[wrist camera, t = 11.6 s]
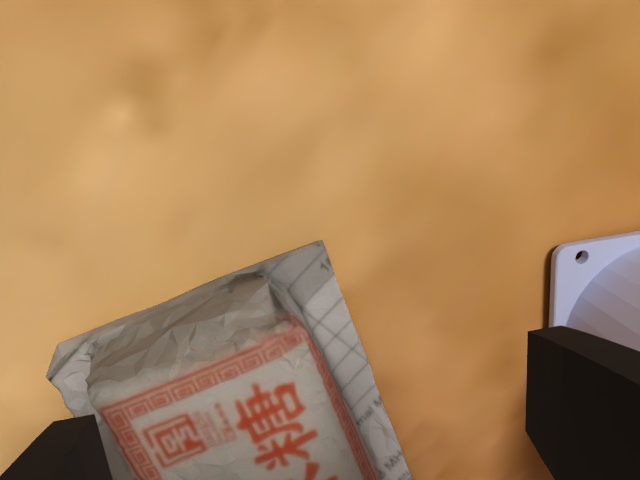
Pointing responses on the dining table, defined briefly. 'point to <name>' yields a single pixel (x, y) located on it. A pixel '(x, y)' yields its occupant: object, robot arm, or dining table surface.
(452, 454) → the dining table surface
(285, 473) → the packaged product
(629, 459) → the robot arm
